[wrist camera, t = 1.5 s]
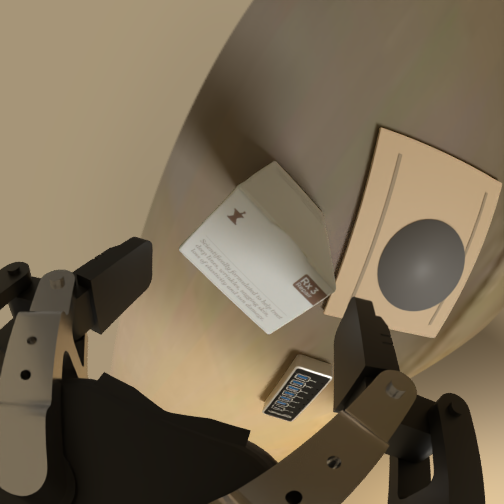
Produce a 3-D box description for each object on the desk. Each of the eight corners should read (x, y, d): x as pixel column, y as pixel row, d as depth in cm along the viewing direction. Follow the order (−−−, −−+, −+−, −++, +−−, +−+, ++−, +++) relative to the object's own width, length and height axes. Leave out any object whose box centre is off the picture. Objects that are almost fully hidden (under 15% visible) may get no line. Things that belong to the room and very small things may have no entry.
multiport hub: (333, 362, 28) (333, 377, 26) (294, 409, 33) (291, 422, 31) (298, 351, 28) (296, 365, 26) (264, 400, 33) (261, 413, 31)
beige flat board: (379, 127, 18) (381, 127, 17) (498, 182, 16) (502, 184, 16) (323, 310, 25) (323, 314, 25) (433, 334, 24) (434, 338, 23)
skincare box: (238, 193, 23) (166, 250, 12) (277, 156, 21) (232, 178, 10) (289, 246, 23) (262, 342, 13) (329, 213, 22) (339, 293, 11)
